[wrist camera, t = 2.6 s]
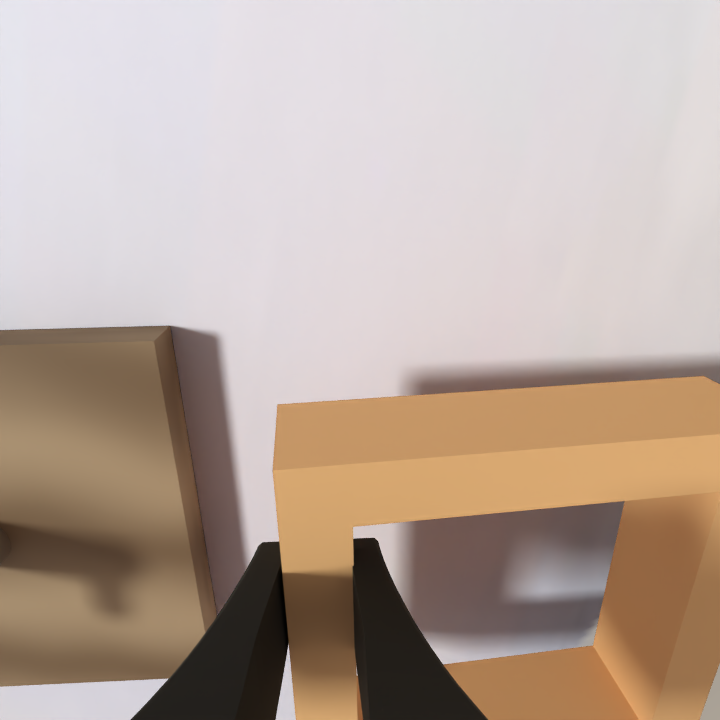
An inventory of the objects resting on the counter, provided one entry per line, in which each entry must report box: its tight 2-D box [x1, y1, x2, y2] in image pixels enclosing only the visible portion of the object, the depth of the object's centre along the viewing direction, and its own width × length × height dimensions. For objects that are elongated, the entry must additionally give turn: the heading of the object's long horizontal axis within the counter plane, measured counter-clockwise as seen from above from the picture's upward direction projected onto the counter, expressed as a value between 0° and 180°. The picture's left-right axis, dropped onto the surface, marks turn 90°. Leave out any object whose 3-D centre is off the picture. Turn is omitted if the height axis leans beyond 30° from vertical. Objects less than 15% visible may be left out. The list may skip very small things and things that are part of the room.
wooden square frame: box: [273, 376, 720, 720], centre depth 14 cm, size 12×12×3 cm
